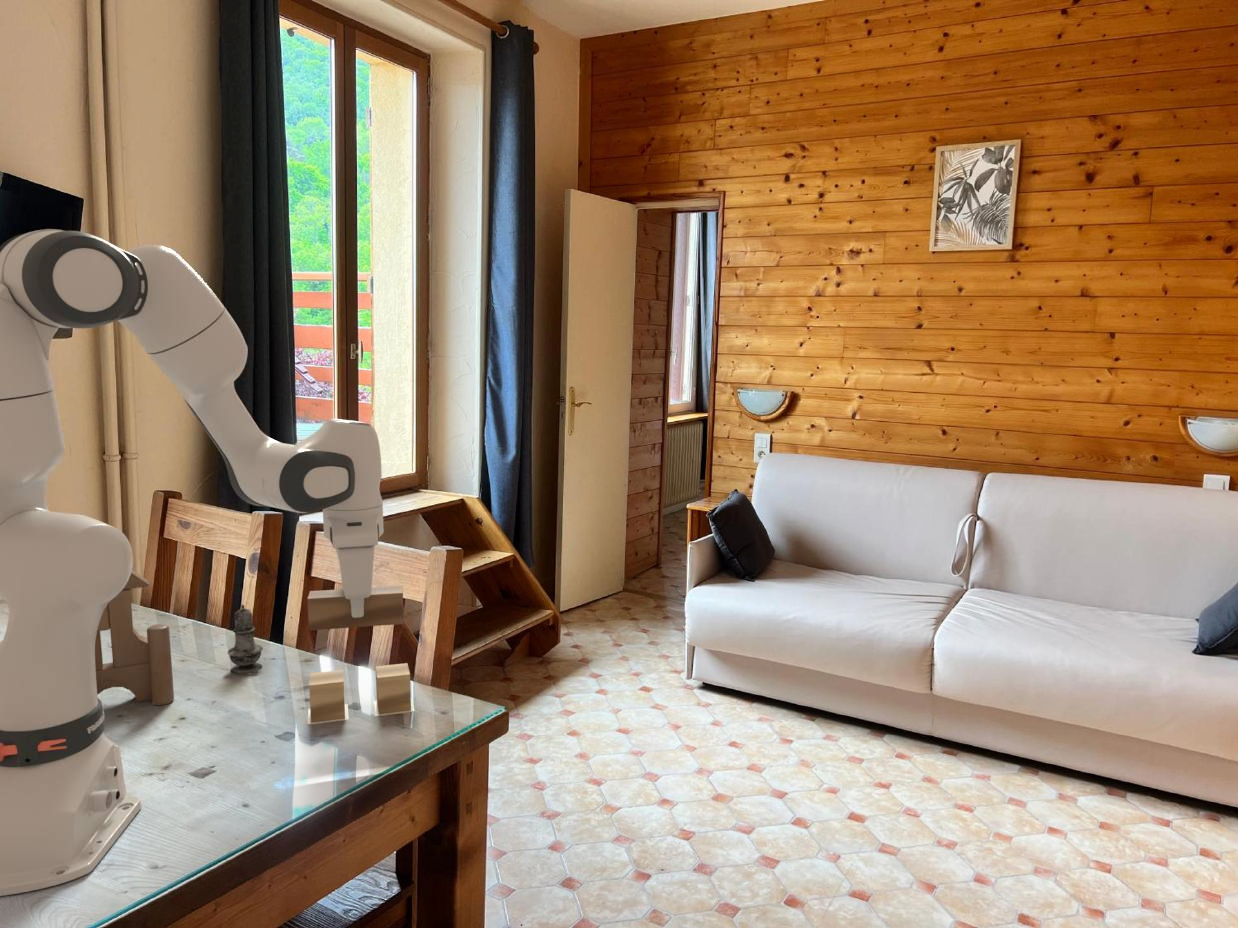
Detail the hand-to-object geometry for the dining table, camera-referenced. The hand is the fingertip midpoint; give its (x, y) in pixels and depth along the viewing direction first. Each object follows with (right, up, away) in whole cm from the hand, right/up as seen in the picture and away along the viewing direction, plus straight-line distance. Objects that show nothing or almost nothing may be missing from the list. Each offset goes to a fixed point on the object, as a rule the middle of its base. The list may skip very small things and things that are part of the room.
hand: (357, 610), depth 138 cm
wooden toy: (-40, -16, +5) cm, 43 cm away
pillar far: (+5, -16, +4) cm, 17 cm away
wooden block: (0, -2, 0) cm, 2 cm away
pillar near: (-5, -16, +1) cm, 17 cm away
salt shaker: (-26, -14, +21) cm, 37 cm away
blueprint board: (0, -17, +2) cm, 17 cm away
